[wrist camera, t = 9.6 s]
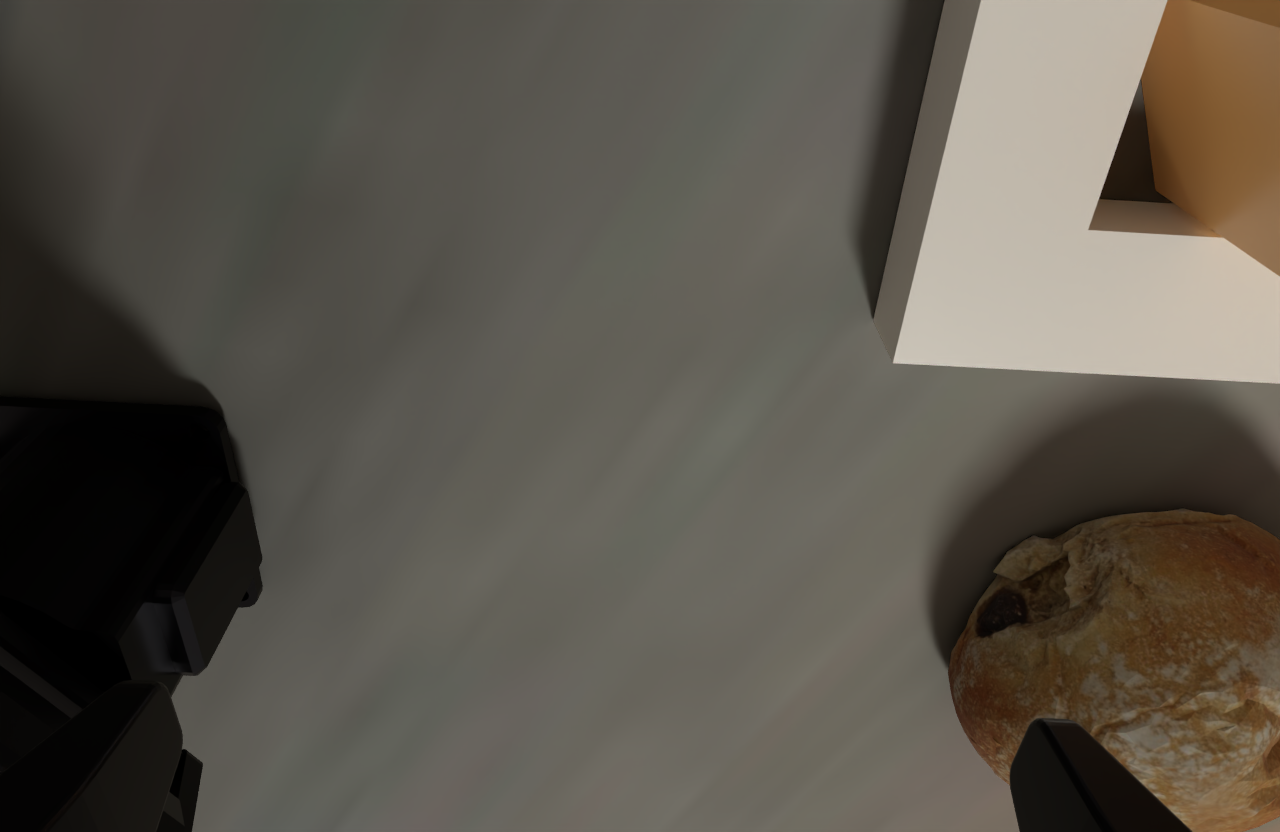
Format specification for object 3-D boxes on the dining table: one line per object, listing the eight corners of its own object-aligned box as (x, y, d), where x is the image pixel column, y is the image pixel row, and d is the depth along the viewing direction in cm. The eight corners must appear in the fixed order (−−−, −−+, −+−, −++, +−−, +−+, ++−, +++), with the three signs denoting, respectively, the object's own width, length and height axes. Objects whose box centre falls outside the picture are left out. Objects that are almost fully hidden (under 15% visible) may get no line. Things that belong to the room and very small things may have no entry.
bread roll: (1088, 395, 27) (1097, 515, 20) (1427, 588, 25) (1562, 790, 18) (910, 616, 32) (869, 771, 25) (1183, 790, 30) (1218, 1008, 23)
